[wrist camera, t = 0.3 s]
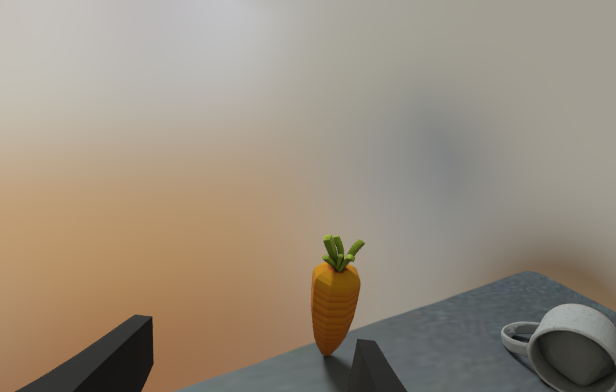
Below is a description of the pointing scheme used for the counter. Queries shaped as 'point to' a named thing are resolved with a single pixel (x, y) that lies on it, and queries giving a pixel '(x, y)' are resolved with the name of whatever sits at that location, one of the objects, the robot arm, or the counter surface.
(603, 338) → the ceramic mug
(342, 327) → the carrot
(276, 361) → the counter surface
